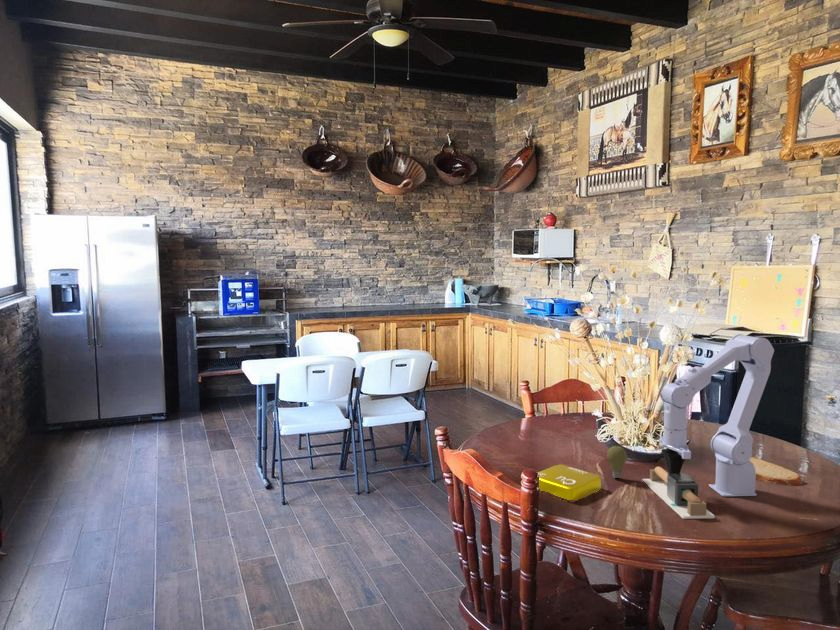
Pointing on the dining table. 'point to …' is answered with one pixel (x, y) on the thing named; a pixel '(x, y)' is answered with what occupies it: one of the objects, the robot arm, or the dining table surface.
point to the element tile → (568, 482)
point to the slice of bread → (774, 473)
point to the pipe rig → (694, 506)
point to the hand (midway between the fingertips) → (673, 476)
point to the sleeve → (677, 479)
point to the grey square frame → (684, 486)
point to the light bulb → (616, 460)
